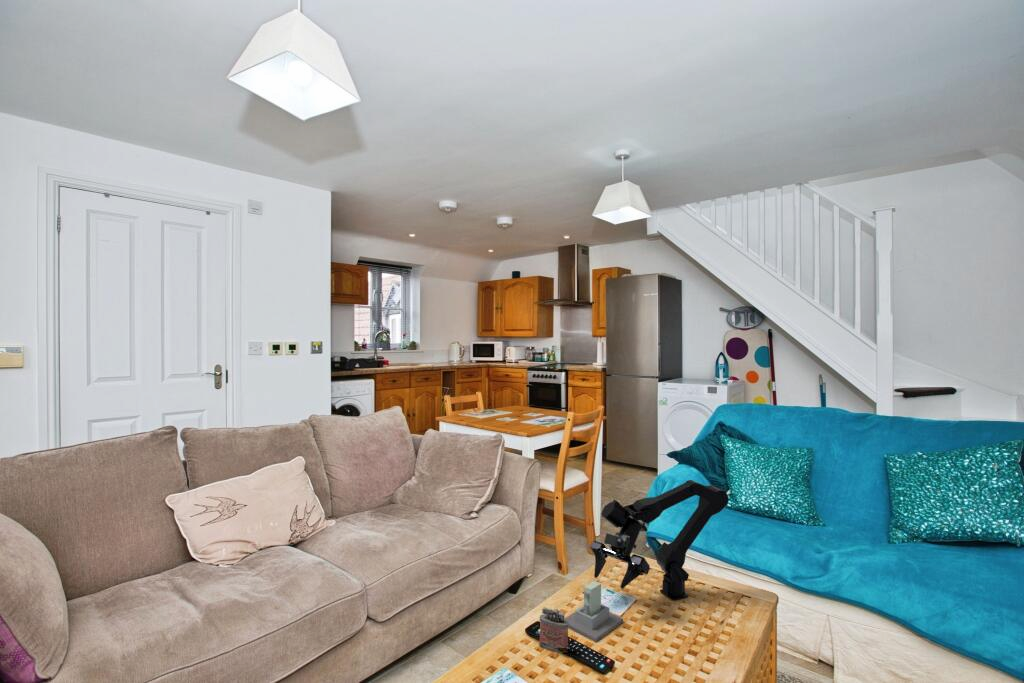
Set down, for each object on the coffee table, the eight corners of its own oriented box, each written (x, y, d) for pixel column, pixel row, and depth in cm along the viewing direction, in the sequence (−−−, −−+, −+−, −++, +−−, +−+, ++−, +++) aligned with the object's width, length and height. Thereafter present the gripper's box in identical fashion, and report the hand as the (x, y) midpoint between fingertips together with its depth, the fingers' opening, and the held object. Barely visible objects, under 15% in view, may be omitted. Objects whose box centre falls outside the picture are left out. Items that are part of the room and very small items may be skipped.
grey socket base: (623, 622, 144) (623, 608, 144) (595, 642, 134) (595, 627, 134) (589, 606, 152) (589, 593, 152) (560, 624, 142) (561, 610, 142)
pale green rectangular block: (600, 618, 144) (601, 583, 144) (589, 625, 140) (589, 590, 140) (593, 614, 145) (594, 580, 145) (582, 622, 141) (582, 587, 141)
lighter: (570, 648, 131) (570, 610, 131) (566, 655, 128) (566, 616, 128) (541, 640, 134) (542, 603, 134) (537, 647, 131) (537, 609, 131)
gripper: (593, 515, 159) (572, 559, 151) (645, 531, 146) (625, 580, 138) (606, 533, 165) (586, 577, 157) (657, 549, 152) (639, 598, 144)
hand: (608, 582), depth 149 cm, fingers open, 9 cm apart
